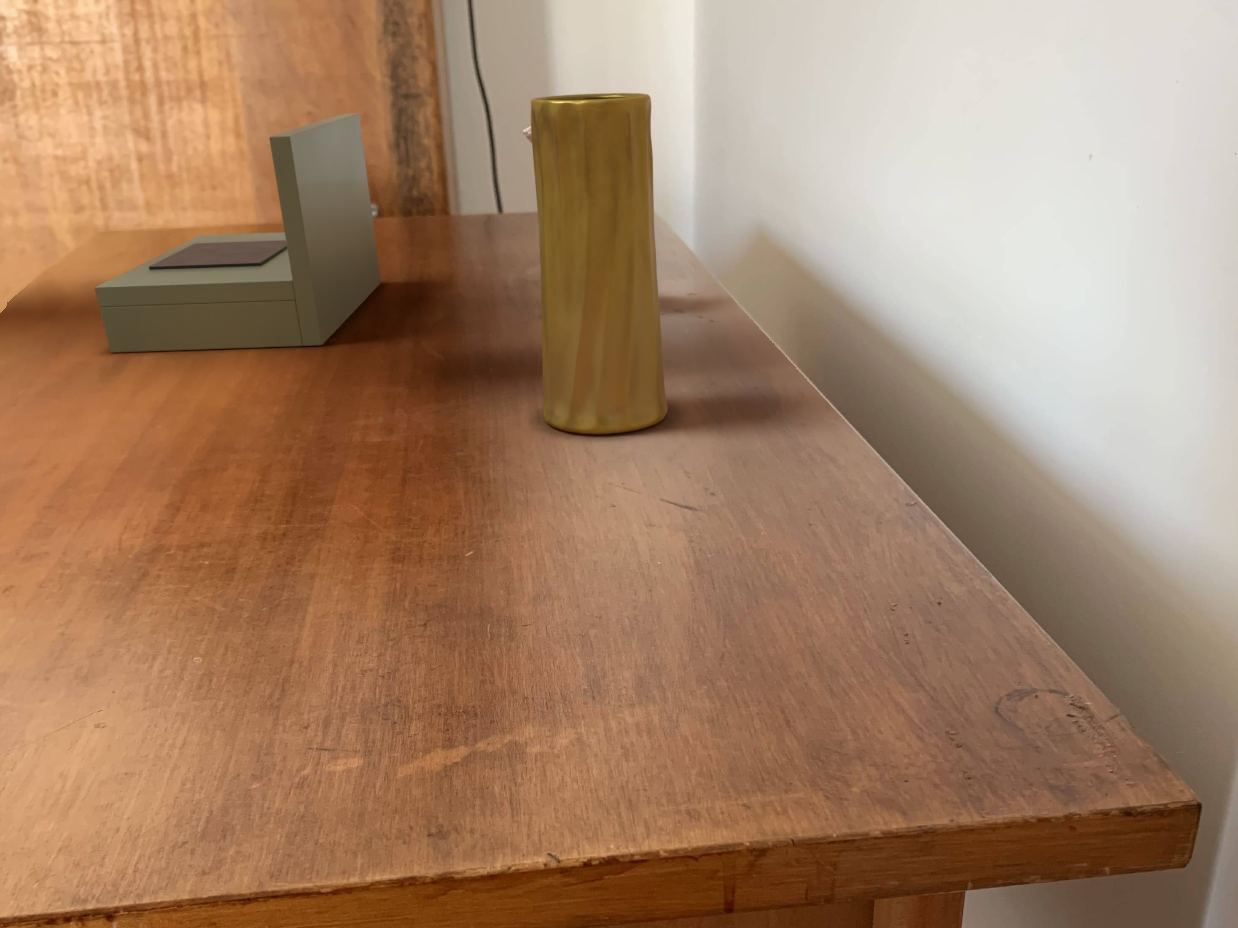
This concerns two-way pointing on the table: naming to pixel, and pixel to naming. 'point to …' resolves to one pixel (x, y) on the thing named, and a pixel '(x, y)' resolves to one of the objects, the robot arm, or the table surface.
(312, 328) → the green l-shaped stand
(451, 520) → the table surface
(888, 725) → the table surface
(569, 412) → the vase
